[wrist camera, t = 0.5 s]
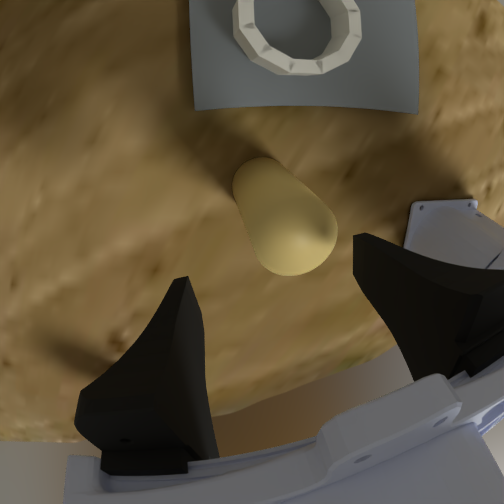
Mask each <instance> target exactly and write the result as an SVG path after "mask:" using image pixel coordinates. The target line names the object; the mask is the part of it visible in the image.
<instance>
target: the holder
mask: <svg viewBox="0 0 504 504" xmlns="http://www.w3.org/2000/svg"><path fill="white" fill-rule="evenodd" d="M189 15H190V40H191V60H192V77H193V92H194V106H195V111H200V110H210V109H222V108H236V107H254V106H333V107H351V108H365V109H376V110H386V111H394V112H402V113H410V114H417V115H418V104H419V51H418V32H417V19H416V9H415V0H189Z"/></svg>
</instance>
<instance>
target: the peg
mask: <svg viewBox="0 0 504 504" xmlns="http://www.w3.org/2000/svg"><path fill="white" fill-rule="evenodd" d="M232 192H233V195H234V198H235V201H236V203H237V206H238V209H239V211H240V214H241V217H242V219H243V222H244V225H245V227H246V230H247V233H248V235H249V238H250V241H251V243H252V246H253V249H254V252H255V254H256V256H257V259H258V260H259V262H260V263H261V264H262V265H263V266H264V267H265V268H266V269H268V270H269V271H271V272H273V273H275V274H279V275H284V276H294V275H300V274H303V273H306V272H309V271H311V270H313V269H314V268H316V267H317V266H319V265H320V264H321V263H322V262H324V260H325V259H326V258H327V257H328V256H329V254H330V253H331V251H332V250H333V248H334V245H335V243H336V239H337V233H338V228H337V222H336V218H335V216H334V214H333V212H332V211H331V209H330V208H329V207H328V206H327V205H326V204H325V203H324V202H323V201H322V200H320V199H319V198H318V197H317V196H316V195H315V194H314V193H313V192H312V191H311V190H310V189H308V188H307V187H306V186H305V185H304V184H303V183H302V182H301V181H300V180H299V179H297V178H296V177H295V176H294V175H293V174H292V173H291V172H290V171H288V170H287V169H286V168H285V167H284V166H283V165H281V164H280V163H279V162H278V161H276V160H274V159H271V158H267V157H258V158H253V159H251V160H248V161H247V162H245V163H244V164H242V165H241V166H240V167H239V169H238V170H237V171H236V173H235V175H234V178H233V181H232Z"/></svg>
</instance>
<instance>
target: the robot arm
mask: <svg viewBox="0 0 504 504" xmlns="http://www.w3.org/2000/svg"><path fill="white" fill-rule="evenodd" d="M477 204H478V202H477V200H475V199H457V200H434V201H416V202H414V203H413V204H412V206H411V211H410V217H409V222H408V227H407V233H406V238H405V242H404V247H403V248H402V247H400V246H398V245H395V244H393V243H391V242H388V241H386V240H384V239H381V238H379V237H376V236H374V235H371V234H368V233H361V234H357V235H353V275H354V277H355V279H356V281H357V283H358V285H359V286H360V288H361V290H362V292H363V293H364V294H365V296H366V297H367V299H368V300H369V301H370V303H371V304H372V305H373V307H374V308H375V310H376V311H377V312H378V314H379V315H380V316H381V318H382V319H383V321H384V322H385V323H386V325H387V326H388V328H389V330H390V331H391V333H392V335H393V337H394V338H395V340H396V342H397V344H398V346H399V348H400V350H401V352H402V354H403V356H404V359H405V361H406V363H407V365H408V368H409V370H410V372H411V375H412V377H413V380H414V382H413V383H411V384H409V385H406V386H404V387H402V388H400V389H398V390H395V391H393V392H391V393H389V394H386V395H384V396H381V397H379V398H376V399H374V400H371V401H369V402H366V403H364V404H361V405H358V406H356V407H353V408H351V409H349V410H347V411H344V412H342V413H340V414H338V415H336V416H334V417H333V418H332V419H330V420H329V421H327V422H326V423H325V424H323V426H322V427H321V429H320V431H319V433H318V434H317V436H314V437H311V438H308V439H304V440H301V441H297V442H293V443H289V444H286V445H282V446H278V447H274V448H269V449H265V450H260V451H256V452H251V453H245V454H240V455H236V456H229V457H223V458H220V457H219V452H218V448H217V444H216V439H215V435H214V430H213V425H212V420H211V414H210V408H209V403H208V396H207V389H206V381H205V343H204V327H203V320H202V313H201V310H200V307H199V305H198V302H197V299H196V297H195V294H194V291H193V288H192V286H191V283H190V280H189V277H188V276H186V277H181V278H177V279H174V280H173V282H172V284H171V285H170V287H169V289H168V291H167V293H166V295H165V297H164V299H163V300H162V302H161V304H160V306H159V307H158V309H157V311H156V313H155V314H154V316H153V318H152V319H151V321H150V322H149V324H148V325H147V327H146V328H145V330H144V331H143V332H142V334H141V335H140V336H139V338H138V339H137V340H136V341H135V343H134V344H133V345H132V346H131V347H130V348H129V349H128V350H127V351H126V353H125V354H124V355H123V356H122V357H121V358H120V359H119V360H118V361H117V362H116V363H115V364H114V365H113V366H112V367H111V368H109V369H108V370H107V371H106V372H105V373H104V374H102V375H101V376H100V377H99V378H97V379H96V380H95V381H93V382H92V383H91V384H89V385H88V386H87V387H85V388H84V389H82V390H81V391H80V395H79V399H78V404H77V409H76V414H75V420H74V425H75V427H76V429H77V430H78V432H79V433H80V434H81V435H82V436H84V437H85V438H86V439H87V440H88V441H90V442H91V443H92V444H94V445H95V446H96V447H97V448H99V449H100V450H101V451H102V455H101V459H100V458H98V457H94V456H82V455H69V456H68V460H67V468H66V476H65V486H64V499H63V504H504V476H503V474H502V473H501V470H500V469H499V467H498V465H497V463H496V461H495V459H494V458H493V456H492V454H491V452H490V450H489V449H488V447H487V445H486V443H485V442H484V440H483V439H482V435H484V434H485V433H486V432H487V431H489V430H490V429H491V428H492V427H494V426H495V425H496V424H497V423H498V422H500V421H501V420H502V419H503V418H504V228H503V227H502V226H500V225H499V224H497V223H496V222H494V221H493V220H491V219H490V218H488V217H487V216H485V215H484V214H482V213H481V212H479V211H477V210H476V209H477ZM420 206H421V208H420Z"/></svg>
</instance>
